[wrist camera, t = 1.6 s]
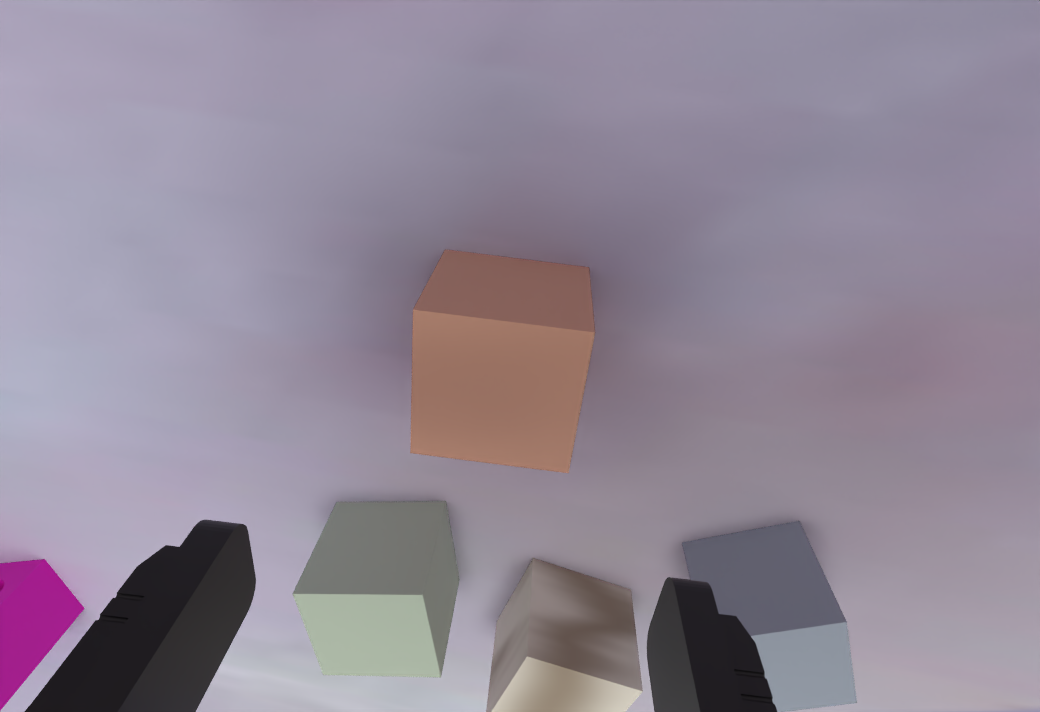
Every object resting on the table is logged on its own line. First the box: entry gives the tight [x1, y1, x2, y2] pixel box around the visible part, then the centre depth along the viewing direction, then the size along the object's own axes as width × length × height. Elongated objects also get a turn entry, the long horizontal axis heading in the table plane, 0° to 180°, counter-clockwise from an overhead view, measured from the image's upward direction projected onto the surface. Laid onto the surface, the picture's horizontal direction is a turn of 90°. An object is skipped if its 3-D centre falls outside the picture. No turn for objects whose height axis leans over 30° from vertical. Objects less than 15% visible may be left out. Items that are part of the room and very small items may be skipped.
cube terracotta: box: [411, 249, 595, 473], centre depth 20 cm, size 5×5×5 cm
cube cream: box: [486, 558, 643, 712], centre depth 27 cm, size 5×5×5 cm
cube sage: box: [293, 501, 460, 677], centre depth 25 cm, size 5×5×5 cm
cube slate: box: [682, 521, 857, 712], centre depth 25 cm, size 5×5×5 cm
